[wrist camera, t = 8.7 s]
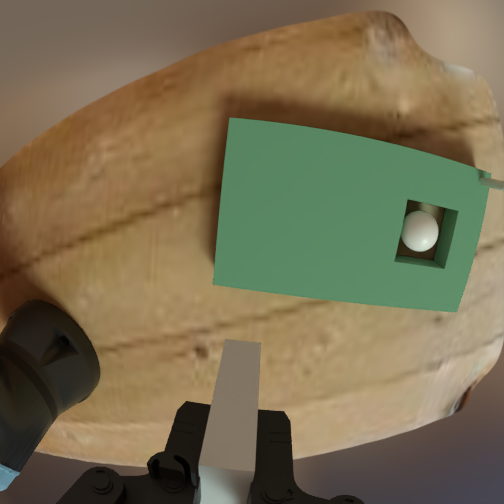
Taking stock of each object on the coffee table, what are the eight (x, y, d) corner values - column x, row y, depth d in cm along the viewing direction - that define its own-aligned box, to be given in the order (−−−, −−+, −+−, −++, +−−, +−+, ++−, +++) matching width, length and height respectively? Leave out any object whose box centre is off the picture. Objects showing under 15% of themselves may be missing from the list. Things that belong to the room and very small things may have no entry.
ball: (388, 244, 27) (418, 257, 24) (396, 204, 26) (428, 214, 22) (412, 244, 28) (440, 256, 25) (420, 208, 27) (449, 218, 24)
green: (218, 274, 30) (212, 284, 27) (233, 120, 26) (229, 117, 23) (446, 301, 29) (456, 312, 26) (477, 171, 25) (491, 173, 22)
